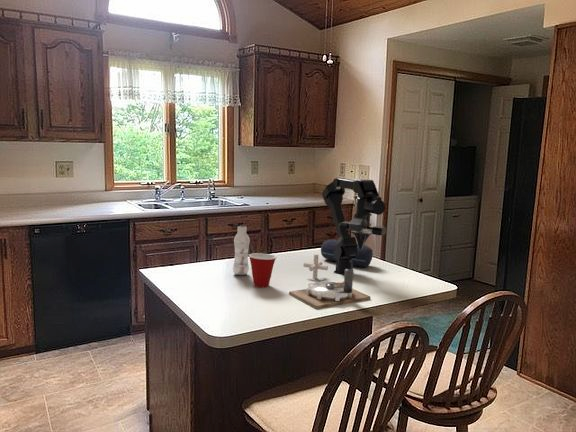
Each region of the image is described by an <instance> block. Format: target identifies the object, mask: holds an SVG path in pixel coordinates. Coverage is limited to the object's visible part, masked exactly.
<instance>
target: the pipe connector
mask: <svg viewBox="0 0 576 432" xmlns="http://www.w3.org/2000/svg"><path fill="white" fill-rule="evenodd" d="M303 268H308V270H309V271H310V272H312V279H313V280H317V279H318V271H319V270H320V271H321V270H323V271H328V269H329V267H328V265H323V262H322V261H319V254H318V253H314V254H313V263H311V262H303Z"/></svg>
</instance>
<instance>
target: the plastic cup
mask: <svg viewBox="0 0 576 432" xmlns="http://www.w3.org/2000/svg"><path fill="white" fill-rule="evenodd" d="M248 257H249V260H250V267H251V275H252V276H251V277H252V282H253V286H254V287H257V288H267V287H269V285H270V282H271V278H272V273H273V269H274V264H275V261H276V259H277V256H276V255H274V254H270V253H259V252H258V253H257V252H256V253H255V252H254V253H250V254H249V253H248Z"/></svg>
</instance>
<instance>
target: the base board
mask: <svg viewBox="0 0 576 432" xmlns="http://www.w3.org/2000/svg"><path fill="white" fill-rule="evenodd" d="M340 283H342V284H344V280H343V281H341V282H340ZM288 295H289V296H290V297H291V296H292V297H293V298H295V299H297V300H299V301H301V302H302V303H304V304H306V305H308V306H309V305H310V306H309V307H312V309H315V310H317V309H318V310H319V309H323V308H328V307H335V306H340V305H345V304H346V305H347V304H352V303H358V302H361V301H362V302H363V301H367V300H368V301H369V300H371V296H370V295H369V294H368V295H367V294H365V293H364V292H361V291H359V290H356V289H354V288H353V289H352V298H348V299H344V300H340V301H335V300H323V299H321V300H320V299H317V298H315V297H313V296H311V295H308V294H307V288H304V289H297V290H291V291H289V292H288Z"/></svg>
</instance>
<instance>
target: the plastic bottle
mask: <svg viewBox="0 0 576 432" xmlns="http://www.w3.org/2000/svg"><path fill="white" fill-rule="evenodd" d="M247 229H248V228H247V226H246V225H239V226H237V232H236V234H235V236H234V238H233V242H234V243H233V245H234V260H233V266H232V273H233V274H234V275H237V276H245V275H247V274H248V273H249V270H250V269H249V267H250V266H249V258H248V257H249V246H250V240H251V239H250V236H249V235H248V234H247V231H248V230H247Z"/></svg>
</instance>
